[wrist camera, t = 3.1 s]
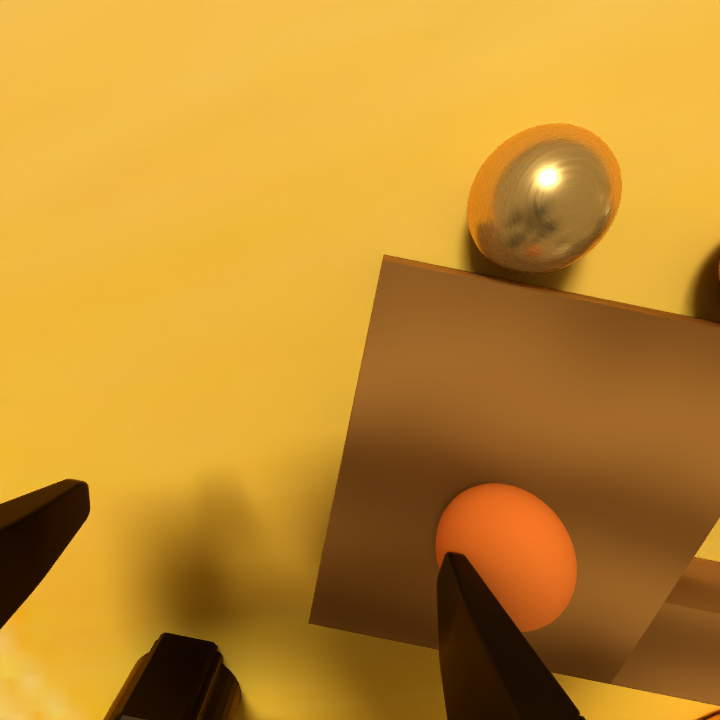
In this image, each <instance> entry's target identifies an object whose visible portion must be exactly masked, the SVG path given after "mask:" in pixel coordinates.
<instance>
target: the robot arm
mask: <svg viewBox="0 0 720 720" xmlns="http://www.w3.org/2000/svg"><path fill="white" fill-rule="evenodd" d="M89 512H90V499H89V487H88V484H87V483H86V482H84V481H80V480H75V479H66V480H63V481H60V482H57V483H55V484H52V485H49V486H47V487H44V488H42V489H39V490H36V491H34V492H31V493H28V494H26V495H23V496H20V497H18V498H15V499H12V500H10V501H7V502H5V503H2V504H0V629H1V628H2V627H3V626H4V625H5V623H6V622H7V621H8V620H9V619H10V618H11V616H12V615H13V614H14V613H15V612H16V611H17V609H18V608H19V607H20V606H21V605H22V604H23V602H24V601H25V600H26V599H27V598H28V597H29V595H30V594H31V593H32V592H33V591H34V589H35V588H36V587H37V586H38V585H39V583H40V582H41V581H42V580H43V578H44V577H45V576H46V574H47V573H48V572H49V570H50V569H51V568H52V566H53V565H54V563H55V562H56V561H57V559H58V558H59V557H60V555H61V554H62V552H63V551H64V550H65V548H66V547H67V546H68V544H69V543H70V541H71V540H72V539H73V537H74V536H75V534H76V533H77V532H78V530H79V529H80V528H81V526H82V525H83V523H84V522H85V521H86V519H87V517H88V515H89ZM437 612H438V638H439V659H440V668H441V676H442V684H443V691H444V699H445V706H446V713H447V720H585V718H584V717H583V716H580V712H579V710H578V709H577V708H576V706H575V705H574V703H573V702H572V701H571V699H570V698H569V697H568V695H567V694H566V693H565V691H564V690H563V688H562V687H561V686H560V684H559V683H558V682H557V680H556V679H555V678H554V676H553V675H552V673H551V672H550V671H549V669H548V668H547V667H546V665H545V664H544V663H543V661H542V660H541V658H540V657H539V656H538V654H537V653H536V652H535V650H534V649H533V648H532V646H531V645H530V643H529V642H528V641H527V639H526V638H525V637H524V635H523V634H522V633H521V631H520V630H519V628H518V627H517V626H516V624H515V623H514V622H513V620H512V619H511V618H510V616H509V615H508V613H507V612H506V611H505V609H504V608H503V607H502V605H501V604H500V603H499V601H498V600H497V598H496V597H495V596H494V594H493V593H492V592H491V590H490V589H489V588H488V586H487V585H486V583H485V582H484V581H483V579H482V578H481V577H480V575H479V574H478V573H477V571H476V570H475V568H474V567H473V566H472V564H471V563H470V562H469V560H468V559H467V558H466V556H464V555H463V554H460V553H455V552H450V551H449V552H447V553H446V554H445V556H444V559H443V562H442V565H441V568H440V571H439V574H438V577H437ZM222 657H223V656H222V654H221V653H220V652H217V645H216V644H215V643H214V642H210V641H205V640H200V639H195V638H190V637H185V636H180V635H175V634H170V633H163V634H161V635H160V637H159V639H158V640H157V641H155V643H154V645H153V647H152V648H151V650H150V652H149V653H147V654H145V655H144V656H142V657H141V658H140V659H139V660H138V661H137V663H136V664H135V666H134V668H133V669H132V671H131V673H130V674H129V676H128V678H127V680H126V681H125V683H124V685H123V687H122V688H121V690H120V692H119V693H118V695H117V697H116V699H115V700H114V702H113V704H112V706H111V707H110V709H109V711H108V712H107V714H106V716H105V718H104V719H103V720H234V718H235V714H236V711H237V708H238V705H239V701H240V698H241V690H240V686H239V683H238V681H237V679H236V677H235V676H234V675H233V674H232V672H231V671H230V670H229V669H228V668H226V667H225V666H224V665H223V664H222Z"/></svg>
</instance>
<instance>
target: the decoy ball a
mask: <svg viewBox="0 0 720 720" xmlns="http://www.w3.org/2000/svg"><path fill="white" fill-rule="evenodd" d="M621 192H622V178H621V173H620V168H619V165H618V162H617V160H616V158H615V156H614V154H613V152H612V151H611V149H610V148H609V147H608V145H607V144H606V143H605V142H604V141H603V140H602V139H601V138H600V137H599V136H597V135H596V134H594V133H593V132H591V131H589V130H587V129H585V128H582V127H578V126H575V125H571V124H563V123H556V124H546V125H540V126H536V127H533V128H529V129H527V130H525V131H522V132H520V133H518V134H516V135H514V136H513V137H511V138H510V139H508V140H506V141H505V142H504V143H503V144H501V145H500V146H499V147H498V148H497V149H496V150H495V151H494V152H493V153H492V154H491V155H490V156H489V157H488V158H487V160H486V161H485V162H484V164H483V165H482V166H481V168H480V170H479V171H478V173H477V175H476V177H475V179H474V181H473V184H472V187H471V190H470V194H469V199H468V206H467V219H468V225H469V230H470V233H471V236H472V238H473V240H474V242H475V244H476V246H477V247H478V249H479V250H480V252H481V253H482V254H483V255H484V256H485V257H486V258H487V259H488V260H489V261H491V262H492V263H494V264H495V265H497V266H499V267H500V268H503V269H505V270H507V271H510V272H514V273H520V274H543V273H548V272H552V271H556V270H559V269H562V268H564V267H567V266H569V265H570V264H572V263H574V262H576V261H578V260H579V259H580V258H582V257H583V256H585V255H586V254H587V253H589V252H590V251H591V250H592V249H593V248H594V247H595V246H596V245H597V244H598V243H599V242H600V241H601V239H602V238H603V237H604V235H605V234H606V233H607V231H608V230H609V228H610V226H611V225H612V223H613V221H614V218H615V216H616V214H617V211H618V208H619V204H620V200H621Z"/></svg>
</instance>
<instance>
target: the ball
mask: <svg viewBox="0 0 720 720" xmlns="http://www.w3.org/2000/svg"><path fill="white" fill-rule="evenodd" d="M435 548H436V558H437V563H438V566H439V570H440V568H441V565H442V562H443V559H444V556H445V554H446V553H447V552H449V551H450V552H455V553H460V554H463V555H464V556H466V558H467V559H468V560H469V562H470V563H471V564H472V566H473V567H474V568H475V570H476V571H477V573H478V574H479V575H480V577H481V578H482V579H483V581H484V582H485V583H486V585H487V586H488V588H489V589H490V590H491V592H492V593H493V594H494V596H495V597H496V598H497V600H498V601H499V603H500V604H501V605H502V607H503V608H504V609H505V611H506V612H507V613H508V615H509V616H510V618H511V619H512V620H513V622H514V623H515V624H516V626H517V627H518V628H519V630H520V631H521V632H528V631H533V630H537V629H539V628H542V627H544V626H546V625H548V624H550V623H551V622H553V621H554V620H555V619H557V618H558V617H559V616H560V615H561V613H562V612H563V611H564V610H565V609H566V607H567V606H568V604H569V602H570V600H571V597H572V595H573V593H574V589H575V585H576V580H577V561H576V555H575V550H574V547H573V544H572V541H571V538H570V536H569V534H568V532H567V530H566V528H565V526H564V525H563V523H562V522H561V520H560V519H559V518H558V516H557V515H556V514H555V512H554V511H553V510H552V509H551V508H550V507H548V506H547V505H546V504H545V503H544V502H543V501H542V500H540V499H539V498H538V497H536V496H535V495H533V494H531V493H530V492H528V491H526V490H523V489H521V488H518V487H516V486H512V485H508V484H501V483H487V484H481V485H477V486H474V487H471V488H469V489H467V490H465V491H463V492H462V493H460V494H459V495H458V496H456V497H455V498H454V499H453V500H452V501H451V502H450V504H449V505H448V506H447V507H446V509H445V511H444V512H443V514H442V516H441V519H440V521H439V524H438V528H437V533H436V544H435Z"/></svg>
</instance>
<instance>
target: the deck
mask: <svg viewBox="0 0 720 720" xmlns="http://www.w3.org/2000/svg"><path fill="white" fill-rule="evenodd" d="M487 483H501V484H508V485H512V486H516V487H518V488H521V489H523V490H526V491H528V492H530V493H531V494H533V495H535V496H536V497H538V498H539V499H540V500H542V501H543V502H544V503H545V504H546V505H547V506H548V507H550V508H551V509H552V510H553V511H554V512H555V514H556V515H557V516H558V518H559V519H560V520H561V522H562V523H563V525H564V526H565V528H566V530H567V532H568V534H569V536H570V538H571V541H572V544H573V547H574V550H575V555H576V561H577V580H576V585H575V589H574V593H573V595H572V597H571V600H570V602H569V604H568V606H567V607H566V609H565V610H564V611H563V612H562V613H561V615H560V616H559V617H558V618H557V619H555V620H554V621H553V622H551V623H550V624H548V625H546V626H544V627H542V628H539V629H537V630H533V631H528V632H521V633H522V634H523V635H524V637H525V638H526V639H527V641H528V642H529V643H530V645H531V646H532V648H533V649H534V650H535V652H536V653H537V654H538V656H539V657H540V658H541V660H542V661H543V663H544V664H545V665H546V667H547V668H548V669H549V671H550V672H553V673H558V674H563V675H568V676H573V677H578V678H583V679H588V680H593V681H598V682H603V683H608V684H612V685H617V686H622V687H627V688H632V689H637V690H642V691H647V692H652V693H657V694H662V695H667V696H672V697H677V698H682V699H687V700H692V701H697V702H702V703H707V704H712V705H717V706H720V562H715V561H710V560H705V559H700V558H695V557H694V556H695V554H696V553H697V551H698V550H699V548H700V547H701V545H702V544H703V542H704V540H705V539H706V537H707V536H708V534H709V533H710V531H711V530H712V528H713V527H714V525H715V524H716V522H717V521H718V519H719V518H720V323H718V322H713V321H709V320H704V319H699V318H694V317H689V316H684V315H679V314H674V313H669V312H664V311H659V310H654V309H649V308H645V307H640V306H635V305H630V304H625V303H620V302H615V301H610V300H605V299H600V298H595V297H590V296H585V295H580V294H576V293H571V292H566V291H561V290H556V289H551V288H546V287H541V286H536V285H531V284H526V283H521V282H516V281H512V280H507V279H502V278H497V277H492V276H487V275H482V274H477V273H472V272H467V271H462V270H457V269H452V268H447V267H443V266H438V265H433V264H428V263H423V262H418V261H413V260H408V259H403V258H398V257H393V256H388V255H384V256H383V261H382V265H381V270H380V275H379V280H378V285H377V290H376V295H375V300H374V304H373V309H372V314H371V319H370V324H369V329H368V334H367V339H366V343H365V348H364V353H363V358H362V363H361V368H360V373H359V377H358V382H357V387H356V392H355V397H354V402H353V407H352V412H351V416H350V421H349V426H348V431H347V436H346V441H345V446H344V451H343V455H342V460H341V465H340V470H339V475H338V480H337V485H336V490H335V494H334V499H333V504H332V509H331V514H330V519H329V524H328V529H327V533H326V538H325V543H324V548H323V553H322V558H321V563H320V568H319V573H318V578H317V583H316V588H315V593H314V598H313V603H312V609H311V614H310V619H309V624H314V625H319V626H324V627H329V628H334V629H339V630H344V631H349V632H354V633H359V634H364V635H369V636H374V637H379V638H384V639H389V640H394V641H399V642H404V643H409V644H414V645H419V646H424V647H428V648H433V649H438V650H439V638H438V612H437V577H438V574H439V571H440V570H439V566H438V563H437V558H436V548H435V544H436V533H437V528H438V524H439V521H440V519H441V516H442V514H443V512H444V511H445V509H446V507H447V506H448V505H449V504H450V502H451V501H452V500H453V499H454V498H455V497H456V496H458V495H459V494H460V493H462V492H463V491H465V490H467V489H469V488H471V487H474V486H477V485H481V484H487Z"/></svg>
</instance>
